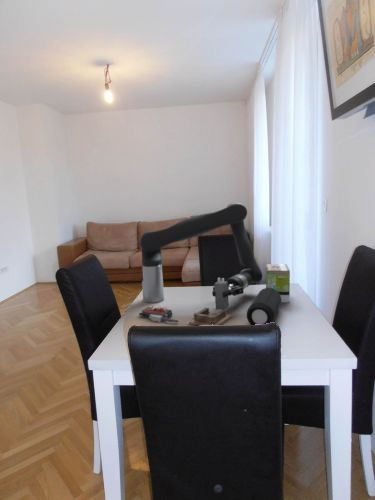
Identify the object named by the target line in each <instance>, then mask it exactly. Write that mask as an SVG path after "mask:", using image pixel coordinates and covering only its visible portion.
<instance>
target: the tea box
mask: <svg viewBox="0 0 375 500" xmlns="http://www.w3.org/2000/svg"><path fill="white" fill-rule="evenodd" d="M290 278H291V270H290V268H289V267H288V264H287V263H275V264H274V263H267V264H266V265H265V288H273V289H275V290H276V291H278V293H279V294H280V296H281V303H290V297H291V296H290V295H291V292H290V291H291V288H290V287H291V286H290V285H291V283H290V282H291V281H290V280H291V279H290Z"/></svg>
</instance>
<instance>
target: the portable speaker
mask: <svg viewBox="0 0 375 500" xmlns="http://www.w3.org/2000/svg"><path fill="white" fill-rule="evenodd" d="M281 304H282V302H281V296H280V294H279V293H278V291H276V290H275V289H273V288H266V287H264V288H262V289H260V291H258V294H257V295H256V296H255V298H254V300H253V301H252V303H251V304H250V306H249V307H248V308H247V311H246V318H247V322H248V323H249V325H250V326H251V325H255V324H266V323H270V322H273V323H274V322H275V320H276V319H275V318H276V316H277V314H278V312H279V309H280V306H281Z"/></svg>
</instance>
